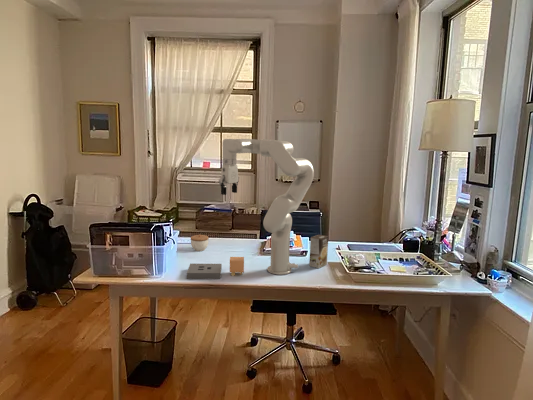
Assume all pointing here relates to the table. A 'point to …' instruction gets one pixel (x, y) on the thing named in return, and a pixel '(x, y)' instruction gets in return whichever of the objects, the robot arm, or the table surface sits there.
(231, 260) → the plug
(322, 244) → the coffee box
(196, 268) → the socket
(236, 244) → the table surface
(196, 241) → the lidded jar
